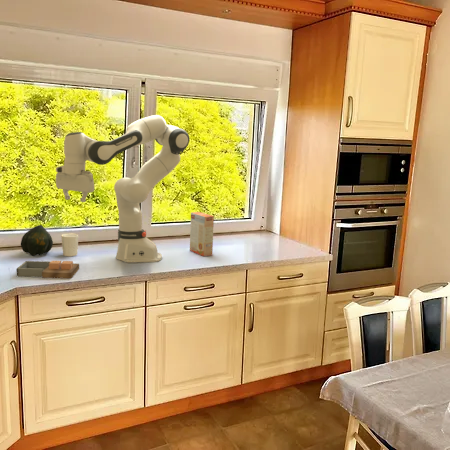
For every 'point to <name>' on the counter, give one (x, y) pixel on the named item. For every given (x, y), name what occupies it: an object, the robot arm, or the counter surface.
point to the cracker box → (201, 233)
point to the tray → (32, 268)
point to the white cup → (69, 244)
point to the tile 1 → (54, 264)
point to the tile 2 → (66, 264)
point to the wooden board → (60, 272)
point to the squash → (36, 241)
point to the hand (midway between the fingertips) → (75, 200)
